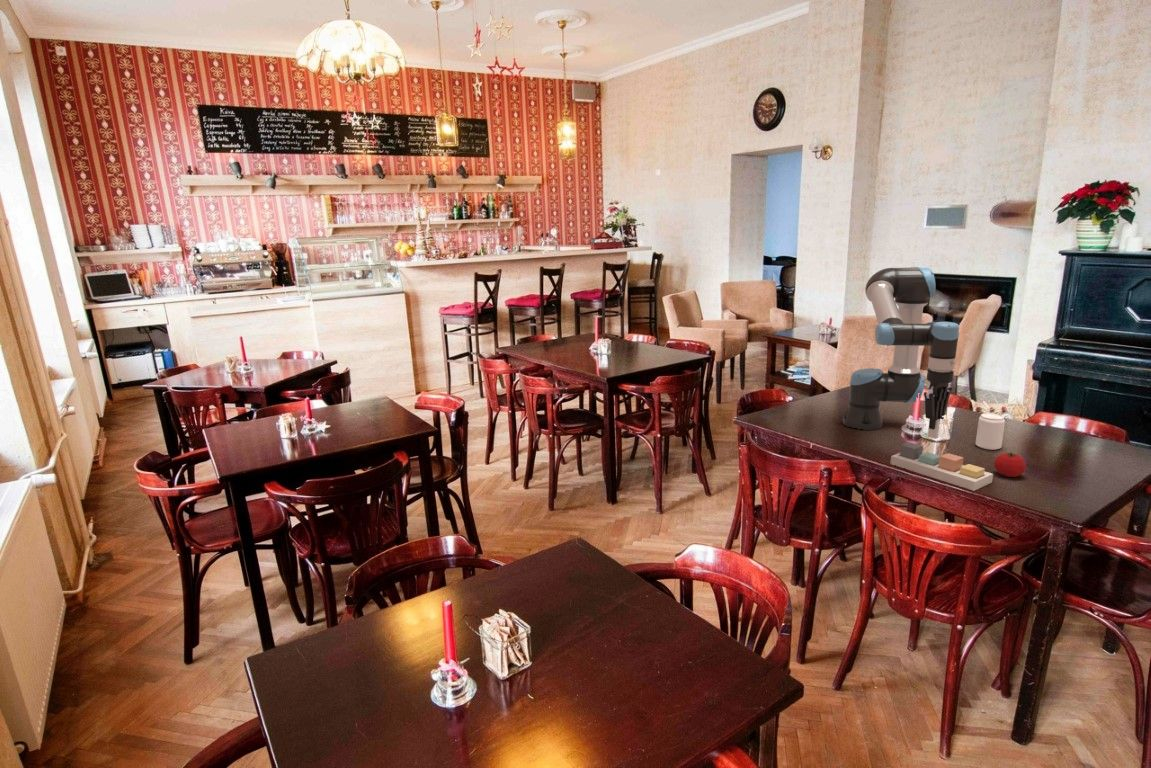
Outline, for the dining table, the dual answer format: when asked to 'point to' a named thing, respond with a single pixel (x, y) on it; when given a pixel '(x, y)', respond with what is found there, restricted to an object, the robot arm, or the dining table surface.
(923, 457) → the key
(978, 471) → the key
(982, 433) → the beverage can
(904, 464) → the keypad
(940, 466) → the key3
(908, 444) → the key
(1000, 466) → the tomato
